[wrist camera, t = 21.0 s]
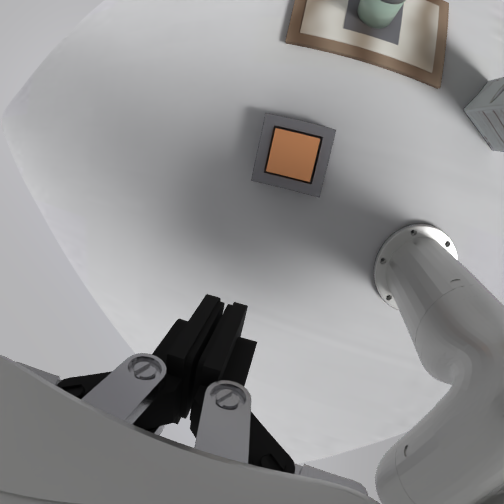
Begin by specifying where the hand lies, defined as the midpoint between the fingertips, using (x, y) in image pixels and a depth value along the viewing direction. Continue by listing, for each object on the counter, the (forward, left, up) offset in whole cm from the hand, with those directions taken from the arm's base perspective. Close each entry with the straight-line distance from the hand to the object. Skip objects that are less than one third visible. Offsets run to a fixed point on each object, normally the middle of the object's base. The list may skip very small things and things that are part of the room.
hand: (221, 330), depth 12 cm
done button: (0, -6, -28) cm, 28 cm away
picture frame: (-6, -27, -29) cm, 40 cm away
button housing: (0, -6, -29) cm, 30 cm away
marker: (-6, -27, -28) cm, 39 cm away
